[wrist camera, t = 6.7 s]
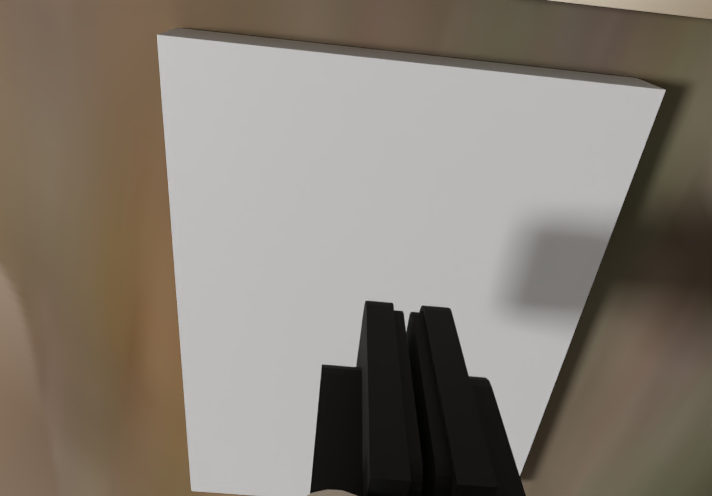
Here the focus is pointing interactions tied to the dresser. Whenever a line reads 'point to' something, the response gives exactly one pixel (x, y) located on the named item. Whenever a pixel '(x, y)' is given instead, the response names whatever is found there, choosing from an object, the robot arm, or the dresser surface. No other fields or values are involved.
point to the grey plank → (376, 226)
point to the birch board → (656, 6)
